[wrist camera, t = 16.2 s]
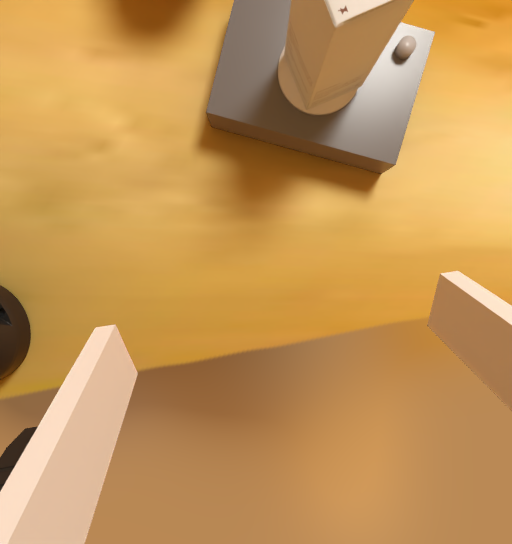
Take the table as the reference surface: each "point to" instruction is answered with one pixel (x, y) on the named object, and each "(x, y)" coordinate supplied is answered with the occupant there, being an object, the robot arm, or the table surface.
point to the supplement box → (337, 43)
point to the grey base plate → (322, 118)
